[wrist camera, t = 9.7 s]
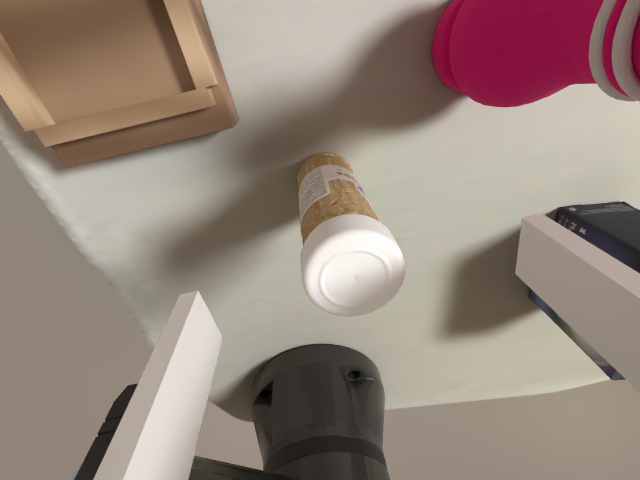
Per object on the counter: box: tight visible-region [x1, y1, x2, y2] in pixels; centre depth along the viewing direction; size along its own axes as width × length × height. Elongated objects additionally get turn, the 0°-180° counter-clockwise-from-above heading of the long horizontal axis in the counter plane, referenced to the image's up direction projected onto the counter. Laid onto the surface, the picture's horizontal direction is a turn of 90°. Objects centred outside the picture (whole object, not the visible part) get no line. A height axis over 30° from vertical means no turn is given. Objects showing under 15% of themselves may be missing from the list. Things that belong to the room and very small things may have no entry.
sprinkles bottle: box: [297, 153, 405, 316], centre depth 19 cm, size 5×5×13 cm
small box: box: [528, 202, 640, 380], centre depth 27 cm, size 11×6×10 cm, turn 3°
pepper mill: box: [432, 0, 640, 107], centre depth 13 cm, size 7×7×20 cm
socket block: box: [0, 0, 239, 168], centre depth 18 cm, size 13×11×4 cm
